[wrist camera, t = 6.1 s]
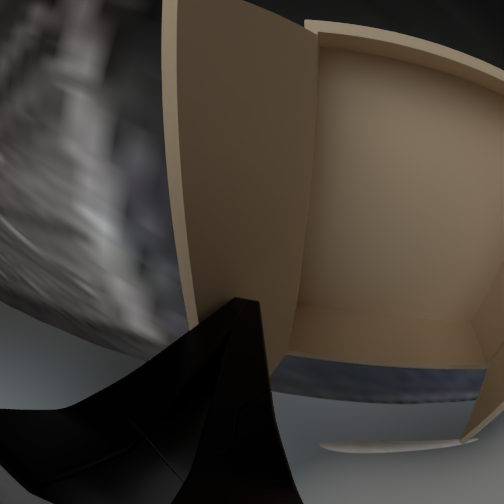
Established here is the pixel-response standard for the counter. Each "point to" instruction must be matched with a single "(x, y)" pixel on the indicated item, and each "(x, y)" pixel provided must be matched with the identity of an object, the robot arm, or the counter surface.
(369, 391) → the counter surface
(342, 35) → the carton
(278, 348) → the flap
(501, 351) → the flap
